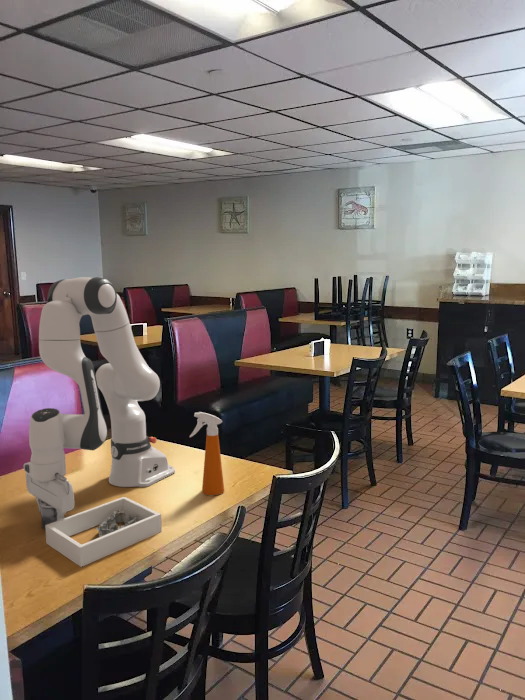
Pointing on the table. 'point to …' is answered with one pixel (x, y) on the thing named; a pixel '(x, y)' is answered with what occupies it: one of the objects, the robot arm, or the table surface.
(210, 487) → the spray bottle
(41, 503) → the metal tin
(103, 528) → the egg carton
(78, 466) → the table surface
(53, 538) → the tote
